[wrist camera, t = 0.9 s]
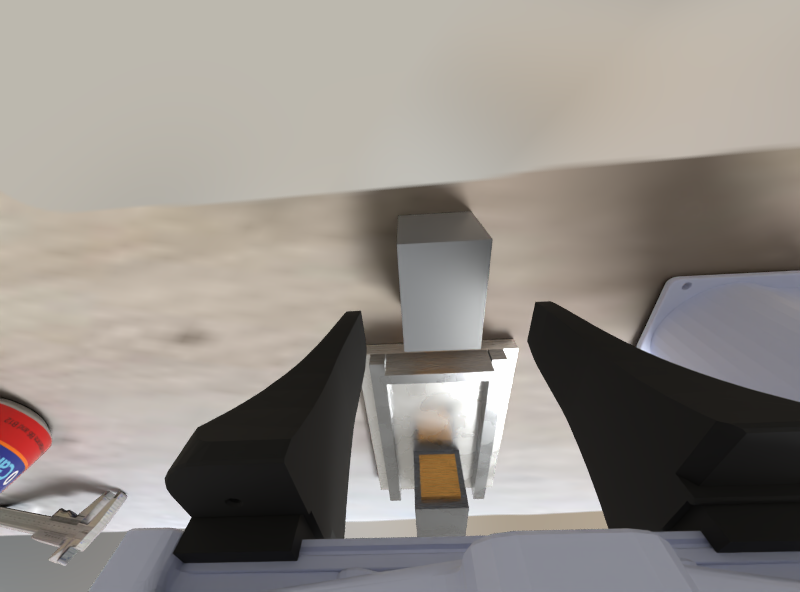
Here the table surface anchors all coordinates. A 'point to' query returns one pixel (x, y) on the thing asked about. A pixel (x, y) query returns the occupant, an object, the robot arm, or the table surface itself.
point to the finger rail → (438, 425)
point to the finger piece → (442, 280)
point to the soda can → (20, 440)
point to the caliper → (65, 525)
